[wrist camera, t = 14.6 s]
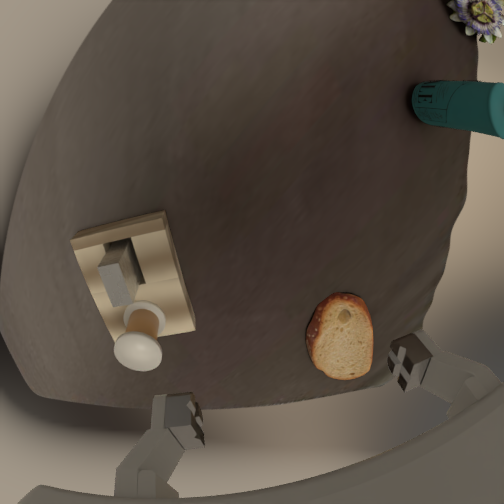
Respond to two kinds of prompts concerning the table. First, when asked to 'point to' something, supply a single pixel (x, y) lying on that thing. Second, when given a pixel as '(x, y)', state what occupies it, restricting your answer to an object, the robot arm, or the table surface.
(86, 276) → the slot board
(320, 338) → the slice of bread
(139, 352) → the bobbin
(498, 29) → the passion flower
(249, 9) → the table surface
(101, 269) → the metal tab
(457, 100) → the beverage bottle
